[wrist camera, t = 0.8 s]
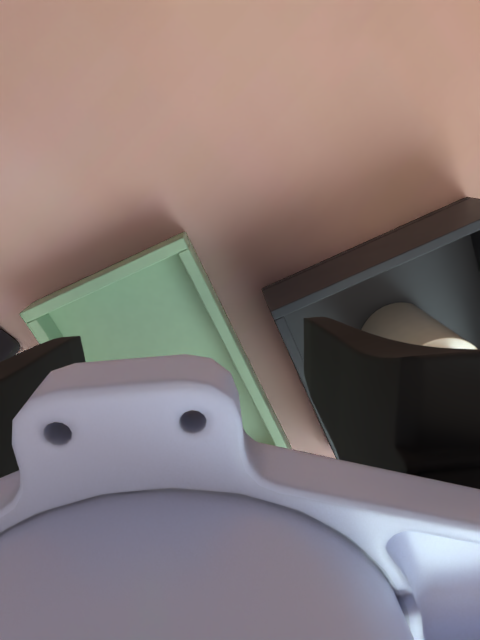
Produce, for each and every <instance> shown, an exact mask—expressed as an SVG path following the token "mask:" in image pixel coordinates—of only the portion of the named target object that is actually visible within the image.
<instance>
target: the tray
mask: <svg viewBox="0 0 480 640" xmlns="http://www.w3.org/2000/svg"><path fill="white" fill-rule="evenodd" d="M20 316H21V317H22V319H23V320H24V322H25V323H27V326H28V327H29V329H30V330H31V332H32V333H33V335H34V336H35V338H36V339H37V340H38V342H39V343H40V344H42V343H44V342H47V341H49V340H52V339H55V338H60V337H71V336H80V337H81V342H82V346H83V351H84V356H85V361H86V362H95V361H107V360H120V359H132V358H144V357H156V356H169V355H181V354H188V355H195V356H201V357H208V358H212V359H213V360H215V361H216V362H217V363H219V364H220V365H221V366H222V367H224V368H225V369H226V370H228V371H229V372H230V373H231V375H232V377H233V380H234V383H235V385H236V388H237V390H238V393H239V400H240V408H241V416H242V424H243V429H244V430H245V432H246V434H247V435H249V436H250V437H251V438H252V439H253V440H255V441H256V442H259V443H264V444H268V445H273V446H278V447H283V448H287V449H291V445H290V443H289V441H288V439H287V437H286V435H285V433H284V431H283V429H282V427H281V425H280V423H279V421H278V419H277V417H276V415H275V413H274V411H273V409H272V407H271V405H270V403H269V401H268V399H267V397H266V395H265V393H264V391H263V389H262V386H261V384H260V382H259V380H258V378H257V376H256V374H255V372H254V370H253V368H252V366H251V364H250V362H249V360H248V358H247V356H246V354H245V352H244V350H243V348H242V346H241V344H240V342H239V340H238V338H237V336H236V334H235V332H234V330H233V327H232V325H231V323H230V321H229V319H228V317H227V315H226V313H225V311H224V309H223V307H222V305H221V303H220V301H219V299H218V297H217V295H216V293H215V291H214V289H213V287H212V285H211V283H210V281H209V279H208V277H207V275H206V273H205V271H204V268H203V266H202V264H201V262H200V260H199V258H198V256H197V254H196V252H195V250H194V248H193V246H192V244H191V242H190V240H189V238H188V236H187V234H186V232H182V233H180V234H178V235H176V236H174V237H172V238H170V239H167V240H165V241H163V242H161V243H159V244H157V245H155V246H152V247H150V248H148V249H146V250H144V251H142V252H140V253H137V254H135V255H133V256H131V257H129V258H127V259H125V260H123V261H120V262H118V263H116V264H114V265H112V266H110V267H108V268H105V269H103V270H101V271H99V272H97V273H95V274H93V275H90V276H88V277H86V278H84V279H82V280H80V281H78V282H76V283H73V284H71V285H69V286H67V287H65V288H63V289H61V290H58V291H56V292H54V293H52V294H50V295H48V296H46V297H43V298H41V299H39V300H37V301H35V302H33V303H32V304H31V305H29V306H28V307H27V308H26V309H24V310H23V311H22V312H21V313H20Z"/></svg>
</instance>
